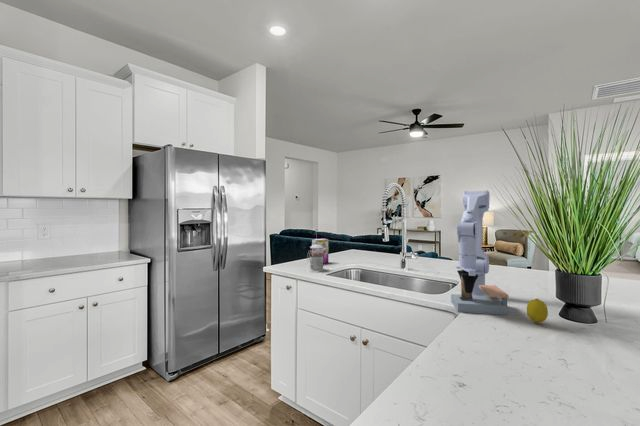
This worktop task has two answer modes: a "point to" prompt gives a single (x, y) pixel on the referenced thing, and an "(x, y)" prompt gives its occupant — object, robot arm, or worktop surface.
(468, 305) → the socket block
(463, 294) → the peg
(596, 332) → the worktop surface
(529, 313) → the lemon
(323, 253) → the candy bar box
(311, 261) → the french press
